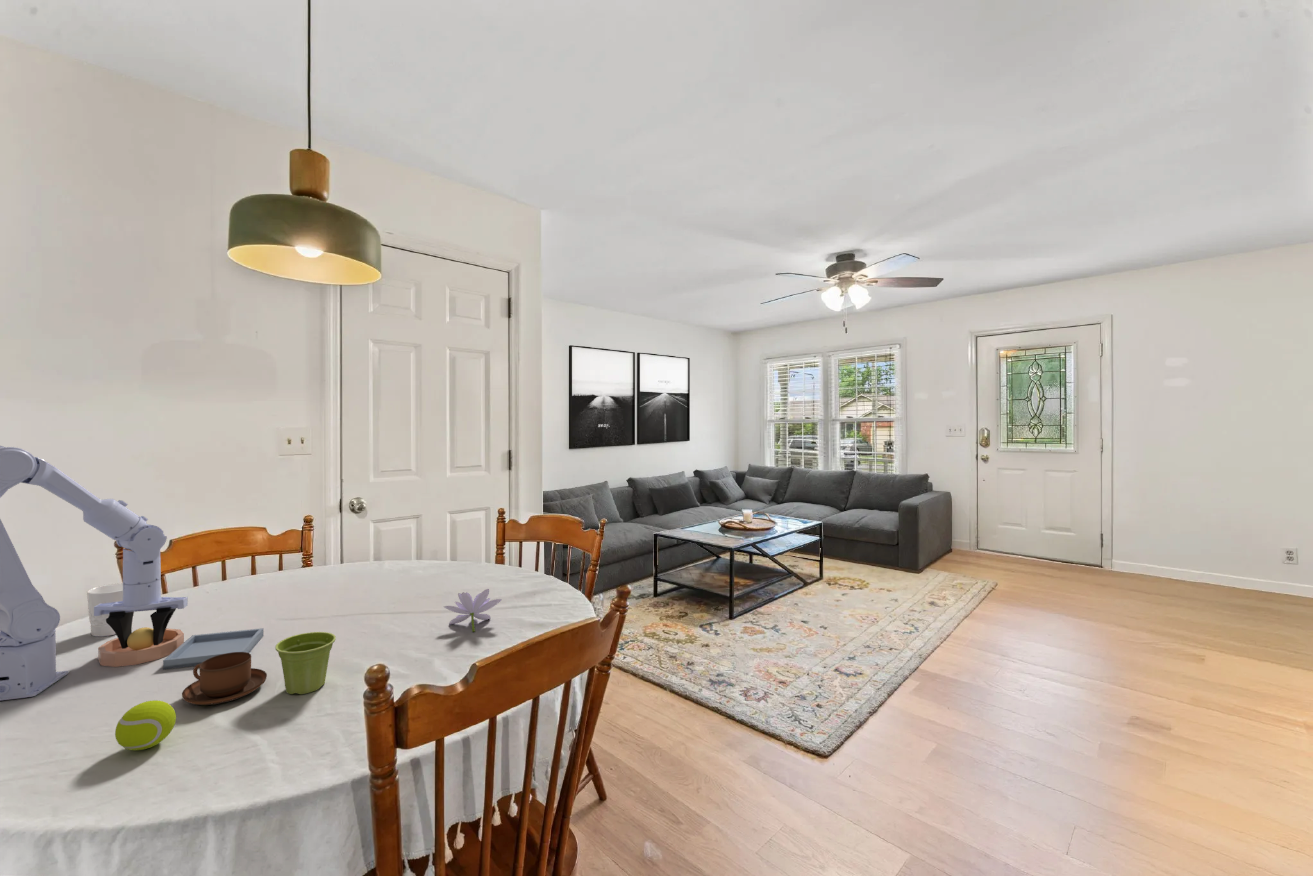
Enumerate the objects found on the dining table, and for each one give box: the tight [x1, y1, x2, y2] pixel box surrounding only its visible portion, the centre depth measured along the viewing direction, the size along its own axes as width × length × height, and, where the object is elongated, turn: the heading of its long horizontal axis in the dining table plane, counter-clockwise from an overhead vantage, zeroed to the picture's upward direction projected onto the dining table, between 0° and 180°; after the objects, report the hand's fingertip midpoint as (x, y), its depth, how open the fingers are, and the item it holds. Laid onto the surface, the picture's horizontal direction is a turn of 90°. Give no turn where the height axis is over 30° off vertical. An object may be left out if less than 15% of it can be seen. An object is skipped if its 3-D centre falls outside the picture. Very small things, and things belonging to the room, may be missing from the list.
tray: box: [162, 627, 265, 670], centre depth 114 cm, size 13×13×2 cm
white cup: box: [86, 582, 135, 637], centre depth 123 cm, size 8×8×10 cm
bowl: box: [97, 627, 185, 668], centre depth 112 cm, size 13×13×3 cm
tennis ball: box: [114, 699, 177, 751], centre depth 81 cm, size 7×7×7 cm
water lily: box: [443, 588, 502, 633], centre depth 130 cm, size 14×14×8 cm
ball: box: [127, 627, 154, 650], centre depth 112 cm, size 5×5×5 cm
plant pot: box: [274, 631, 337, 695], centre depth 100 cm, size 9×9×9 cm
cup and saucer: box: [181, 652, 268, 706], centre depth 97 cm, size 12×12×6 cm
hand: (142, 645), depth 112 cm, fingers closed on ball, 5 cm apart
